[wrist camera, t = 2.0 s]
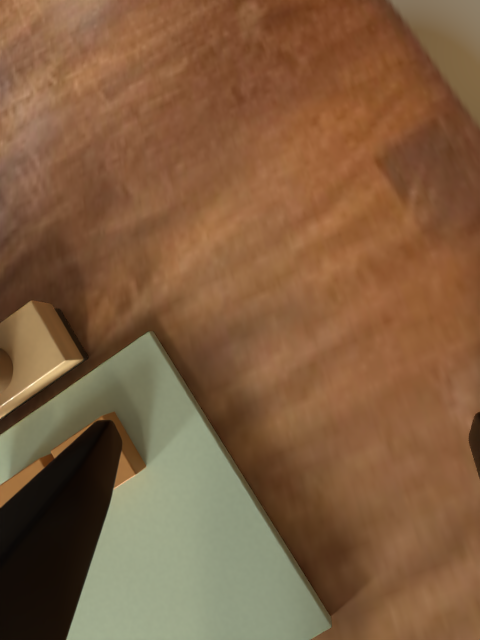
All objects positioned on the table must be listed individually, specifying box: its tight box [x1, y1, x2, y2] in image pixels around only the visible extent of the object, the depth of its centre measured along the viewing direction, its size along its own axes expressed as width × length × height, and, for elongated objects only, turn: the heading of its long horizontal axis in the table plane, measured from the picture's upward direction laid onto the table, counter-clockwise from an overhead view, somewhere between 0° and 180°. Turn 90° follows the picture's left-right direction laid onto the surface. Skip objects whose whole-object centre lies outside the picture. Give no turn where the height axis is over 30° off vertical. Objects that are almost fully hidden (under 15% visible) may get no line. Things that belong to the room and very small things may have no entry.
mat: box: [0, 331, 332, 640], centre depth 25 cm, size 20×18×1 cm
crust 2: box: [51, 412, 146, 490], centre depth 24 cm, size 4×4×2 cm
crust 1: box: [0, 453, 54, 508], centre depth 24 cm, size 4×4×2 cm
